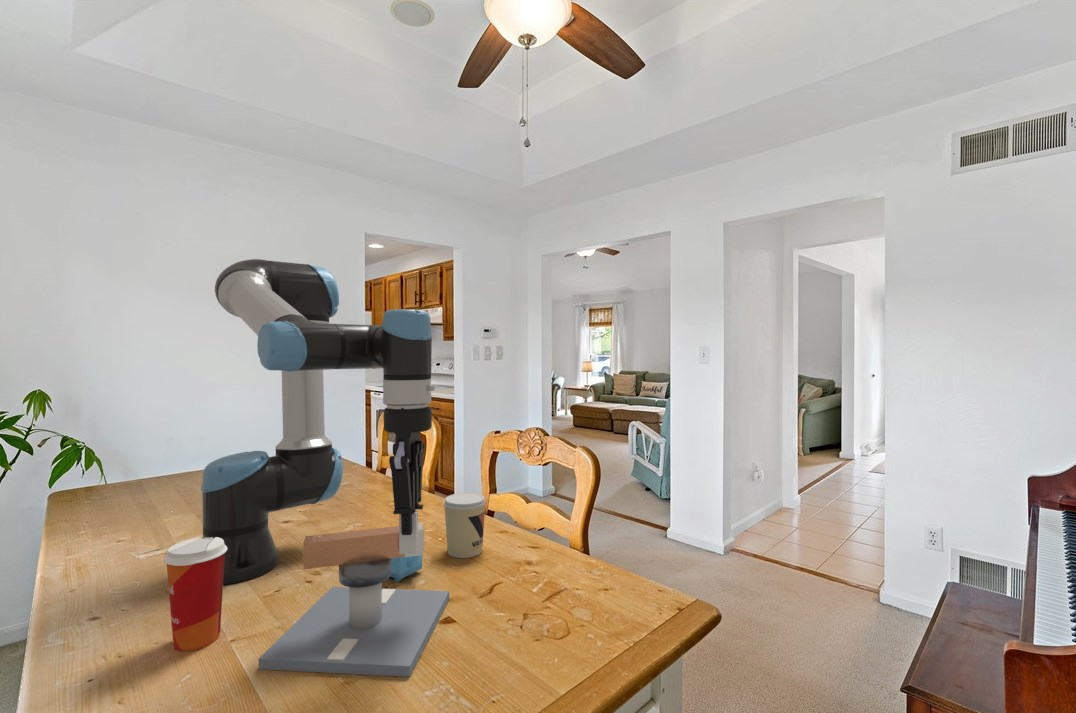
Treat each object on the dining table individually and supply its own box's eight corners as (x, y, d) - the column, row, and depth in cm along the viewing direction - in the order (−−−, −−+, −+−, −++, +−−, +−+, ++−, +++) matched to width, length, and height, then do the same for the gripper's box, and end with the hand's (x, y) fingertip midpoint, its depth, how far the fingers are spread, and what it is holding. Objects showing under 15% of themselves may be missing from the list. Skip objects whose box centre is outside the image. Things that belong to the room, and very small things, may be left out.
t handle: (301, 596, 76) (301, 548, 75) (307, 573, 83) (307, 530, 83) (425, 578, 82) (425, 534, 81) (420, 558, 89) (420, 518, 89)
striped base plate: (258, 669, 72) (258, 609, 72) (332, 594, 94) (332, 549, 94) (409, 677, 71) (409, 616, 70) (449, 599, 93) (449, 552, 92)
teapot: (434, 576, 102) (434, 539, 102) (412, 589, 97) (412, 549, 97) (392, 563, 108) (392, 528, 108) (369, 574, 103) (369, 537, 103)
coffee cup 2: (478, 561, 109) (478, 505, 109) (437, 557, 111) (437, 503, 111) (490, 544, 118) (490, 493, 118) (452, 541, 120) (452, 491, 120)
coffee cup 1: (185, 627, 83) (184, 536, 83) (238, 624, 84) (237, 534, 84) (150, 658, 75) (149, 557, 75) (209, 655, 76) (208, 555, 75)
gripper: (421, 410, 75) (422, 569, 75) (439, 402, 88) (439, 537, 88) (371, 410, 75) (372, 569, 75) (395, 402, 88) (396, 538, 88)
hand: (408, 552), depth 82 cm, fingers closed
